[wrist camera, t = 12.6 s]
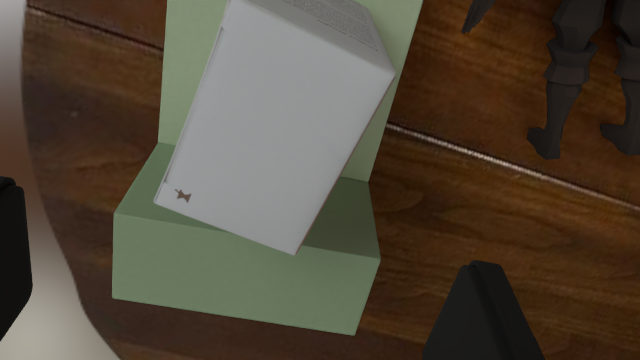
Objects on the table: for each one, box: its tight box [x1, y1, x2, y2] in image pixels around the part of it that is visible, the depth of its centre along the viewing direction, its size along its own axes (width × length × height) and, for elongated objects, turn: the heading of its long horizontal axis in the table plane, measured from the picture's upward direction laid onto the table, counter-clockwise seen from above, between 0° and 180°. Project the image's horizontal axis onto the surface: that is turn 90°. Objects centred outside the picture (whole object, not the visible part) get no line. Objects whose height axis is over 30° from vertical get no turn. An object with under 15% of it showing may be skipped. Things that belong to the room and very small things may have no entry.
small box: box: [153, 0, 396, 255], centre depth 21 cm, size 8×6×10 cm
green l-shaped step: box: [112, 0, 423, 335], centre depth 26 cm, size 16×12×10 cm
